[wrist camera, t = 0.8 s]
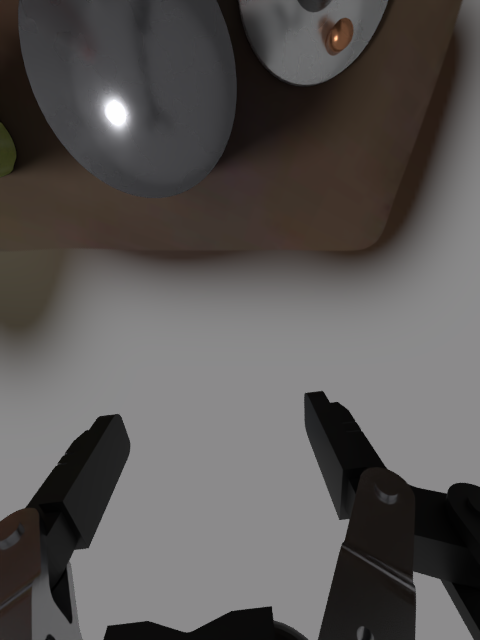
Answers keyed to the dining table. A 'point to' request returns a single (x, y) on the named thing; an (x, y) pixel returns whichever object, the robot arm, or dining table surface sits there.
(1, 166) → the plant pot
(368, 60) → the dining table surface
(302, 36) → the cooker lid
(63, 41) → the cooker pot
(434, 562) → the robot arm
